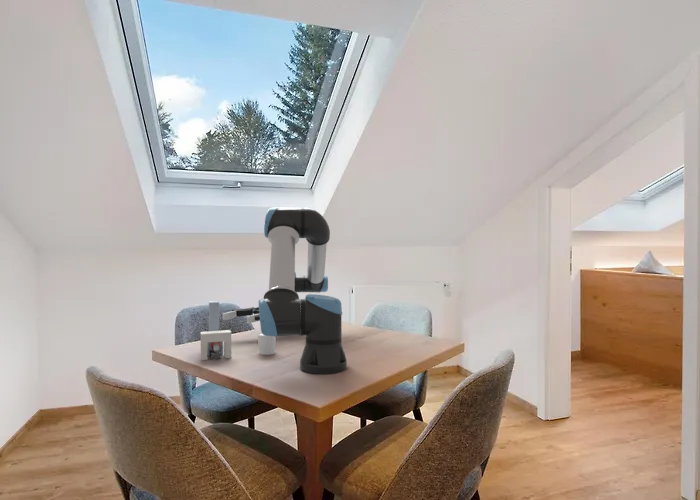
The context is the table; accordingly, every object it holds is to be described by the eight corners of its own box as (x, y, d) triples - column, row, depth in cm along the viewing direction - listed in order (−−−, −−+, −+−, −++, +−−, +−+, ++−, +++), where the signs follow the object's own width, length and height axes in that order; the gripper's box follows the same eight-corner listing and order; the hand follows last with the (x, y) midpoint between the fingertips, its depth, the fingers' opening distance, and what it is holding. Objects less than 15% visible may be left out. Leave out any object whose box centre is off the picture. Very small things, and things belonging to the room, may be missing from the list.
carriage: (222, 354, 156) (223, 304, 156) (207, 355, 154) (207, 305, 154) (220, 347, 166) (220, 300, 166) (206, 348, 164) (206, 301, 164)
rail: (220, 358, 151) (220, 352, 151) (211, 359, 150) (211, 353, 150) (216, 343, 173) (216, 338, 173) (208, 344, 172) (208, 339, 172)
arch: (231, 357, 152) (231, 332, 152) (200, 360, 149) (201, 334, 148) (230, 355, 156) (230, 330, 156) (200, 357, 152) (200, 331, 152)
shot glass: (253, 352, 159) (253, 333, 159) (269, 349, 164) (269, 331, 164) (264, 356, 155) (264, 336, 154) (280, 352, 159) (280, 333, 159)
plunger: (221, 354, 147) (221, 345, 147) (211, 355, 146) (211, 345, 146) (220, 348, 156) (220, 339, 155) (210, 349, 154) (210, 340, 154)
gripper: (294, 320, 182) (258, 331, 164) (252, 315, 196) (214, 324, 178) (294, 302, 182) (258, 311, 164) (251, 299, 195) (213, 306, 177)
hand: (235, 318), depth 171 cm, fingers open, 13 cm apart
